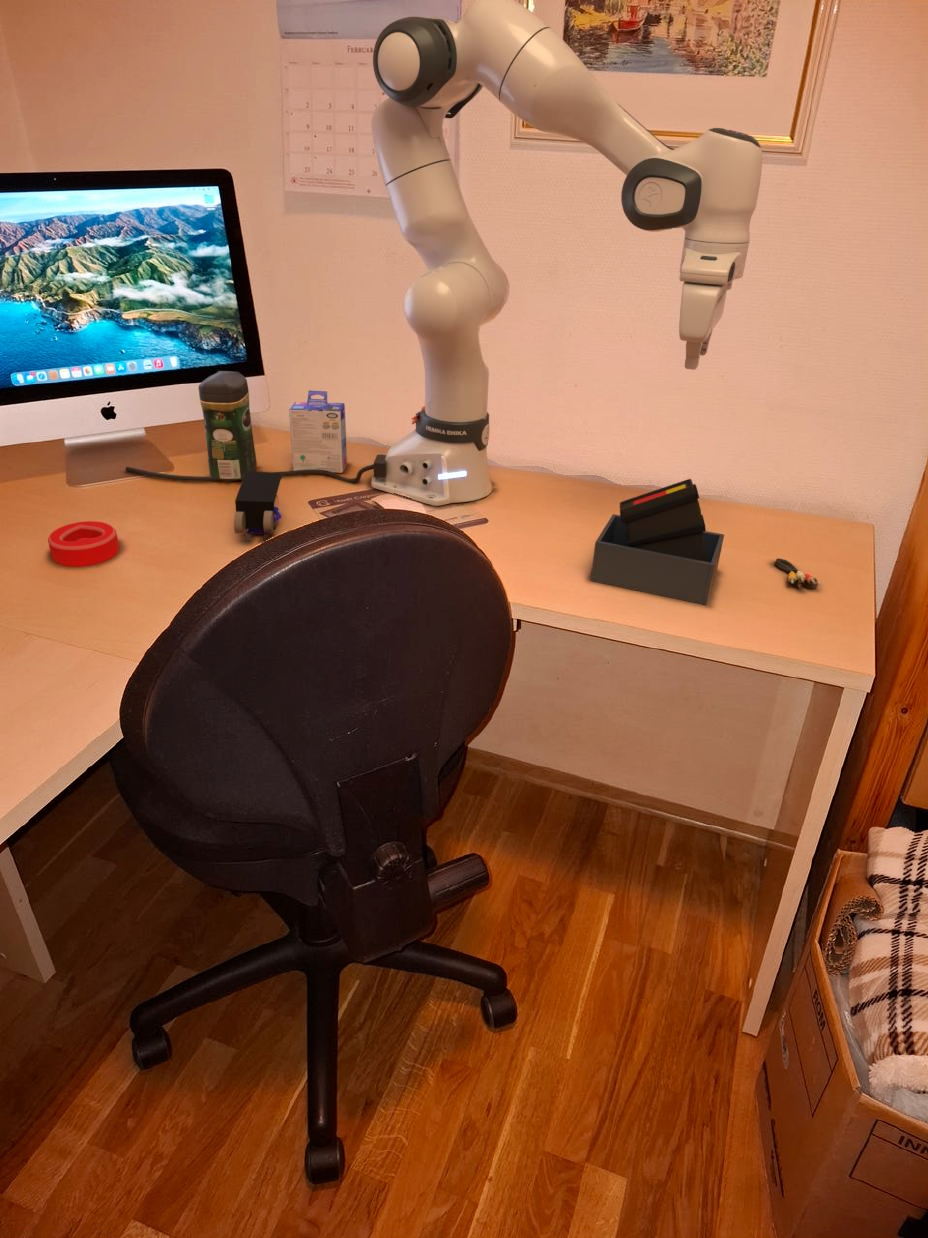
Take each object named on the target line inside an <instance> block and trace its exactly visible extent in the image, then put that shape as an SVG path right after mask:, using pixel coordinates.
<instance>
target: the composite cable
mask: <svg viewBox="0 0 928 1238" xmlns="http://www.w3.org/2000/svg"><path fill="white" fill-rule="evenodd" d="M774 564H775V566H777V568H780V569H782V570H784V571H785V572H787V573H788V575H787V576H788V577H787V581H788V582H789V583H790V584H792V585H793V586H795V587H796V588H798V589H801V588H802V586H803V587H805V588H808V589H815V588H817V587H818V586H819V584H818V583H819V581H818V578H816V577H814V576H812V575H810V574H809V573H804V572H803V571H801V570H799V569H797V568H796V567H795V565H793V564H792V563H791V562H790V561H788V560H787V559H783V558H776V559H775V562H774Z"/></svg>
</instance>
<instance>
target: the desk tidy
mask: <svg viewBox="0 0 928 1238" xmlns="http://www.w3.org/2000/svg"><path fill="white" fill-rule="evenodd" d="M627 532H628V530H627V528H626V525H625V523H622V522H621V520H620V514H614V513H613V514H612V515H611V516H610V517H609V519H608V521H607V523H606V525H605V526H604V527H603V529H602V531H601V532H600V534H599V536H598V537H597V539H596V540H595V542H594V550H593V558H592V564H591V565H592V566H591V575H590V582H593V583H594V582H595V583H600V584H604V585H609V586H614V587H619V588H623V589H627V590H633V591H638V592H641V593H647V594H652V595H656V596H661V597H667V598H671V599H676V600H681V601H686V602H689V603H694V604H699V605H704V606H707V604H708V601H709V598H710V594H711V592H712V588H713V584H714V582H715V578H716V575H717V571H718V566H719V562H720V558H721V553H722V548H723V543H724V538H725V533H719V532H712V531H707V530H706V531H703V535H704V552H703V553H704V557H705V562H704V561H699V560H694V559H689V558H684V557H679V556H674V555H668V554H663V553H658V552H653V551H648V550H643V549H638V548H632V547H630V546H628V545H627Z"/></svg>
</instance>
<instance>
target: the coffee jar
mask: <svg viewBox="0 0 928 1238" xmlns="http://www.w3.org/2000/svg"><path fill="white" fill-rule="evenodd" d="M248 384H249V383H248V379H247V378H246V377H245V376H244V375H243V374H242V373H241V372H239V371H230V370H228V371H227V370H218V371H217V372H216V373H213V374H212V375H209V376H208V377H207V378H205V379H204V380H202V381H201V383H199V384H198V393H199V394H198V395H199V396H198V397H199V403H200V407H201V411H202V416H203V425H204V432H205V441H206V449H207V450H206V451H207V459H208V460H207V463H208V472H209V475H210V476H215V477H217V478H219V479H220V480H221V481H220V482H228V483H229V482H230V483H232V482H237V481H242V480H243V477H244V475H245V472H246V471H253V472H255V470H256V468H257V456H256V455H257V454H256V448H255V441H254V433H253V425H252V420H251V419H252V418H251V417H252V416H251V409H250V392H249V391H250V390H249V385H248Z"/></svg>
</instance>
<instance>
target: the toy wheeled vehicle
mask: <svg viewBox="0 0 928 1238" xmlns="http://www.w3.org/2000/svg"><path fill="white" fill-rule="evenodd" d="M276 472H277V471H254V472H253V471H246V472H245V475H244V477H243V480H241V483H240V485H239V489H238V491H237V495H236V497H235V499H234V503H235V504H234V505H235V512H234V518H233V528H234V533H235V534H239V535H241V534H242V535H243V534H245V532H246V534H245V538H244V539H245V541H246V542H251V539H252V534H259V535H260V534H264V535H263V539H262V541H263V542H267V541H268V540H269V536H270V534H273V533H274V531H275V530H276V523H278V521H279V520H280V519H281V518H282V515H281V514H280V509H279V504H280V501H279V496H278V495H277V494H278V491H279V487H280V483H281V481H282V477H283V476H282V473H276ZM245 530H246V531H245ZM267 539H268V540H267ZM266 540H267V541H266Z"/></svg>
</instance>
